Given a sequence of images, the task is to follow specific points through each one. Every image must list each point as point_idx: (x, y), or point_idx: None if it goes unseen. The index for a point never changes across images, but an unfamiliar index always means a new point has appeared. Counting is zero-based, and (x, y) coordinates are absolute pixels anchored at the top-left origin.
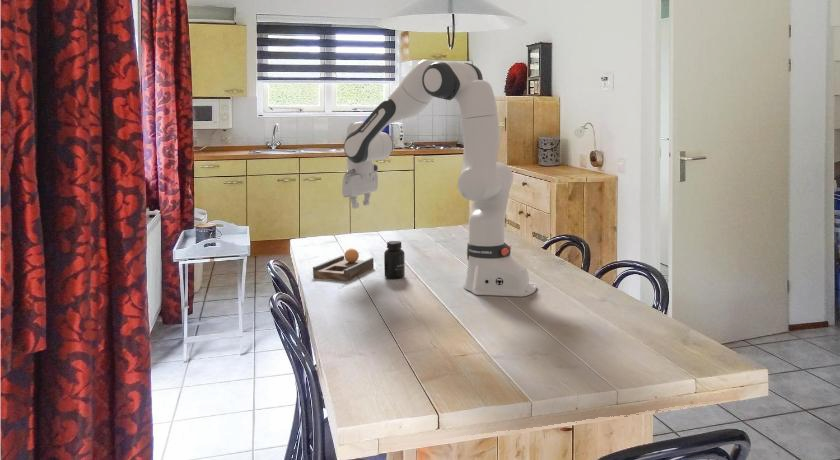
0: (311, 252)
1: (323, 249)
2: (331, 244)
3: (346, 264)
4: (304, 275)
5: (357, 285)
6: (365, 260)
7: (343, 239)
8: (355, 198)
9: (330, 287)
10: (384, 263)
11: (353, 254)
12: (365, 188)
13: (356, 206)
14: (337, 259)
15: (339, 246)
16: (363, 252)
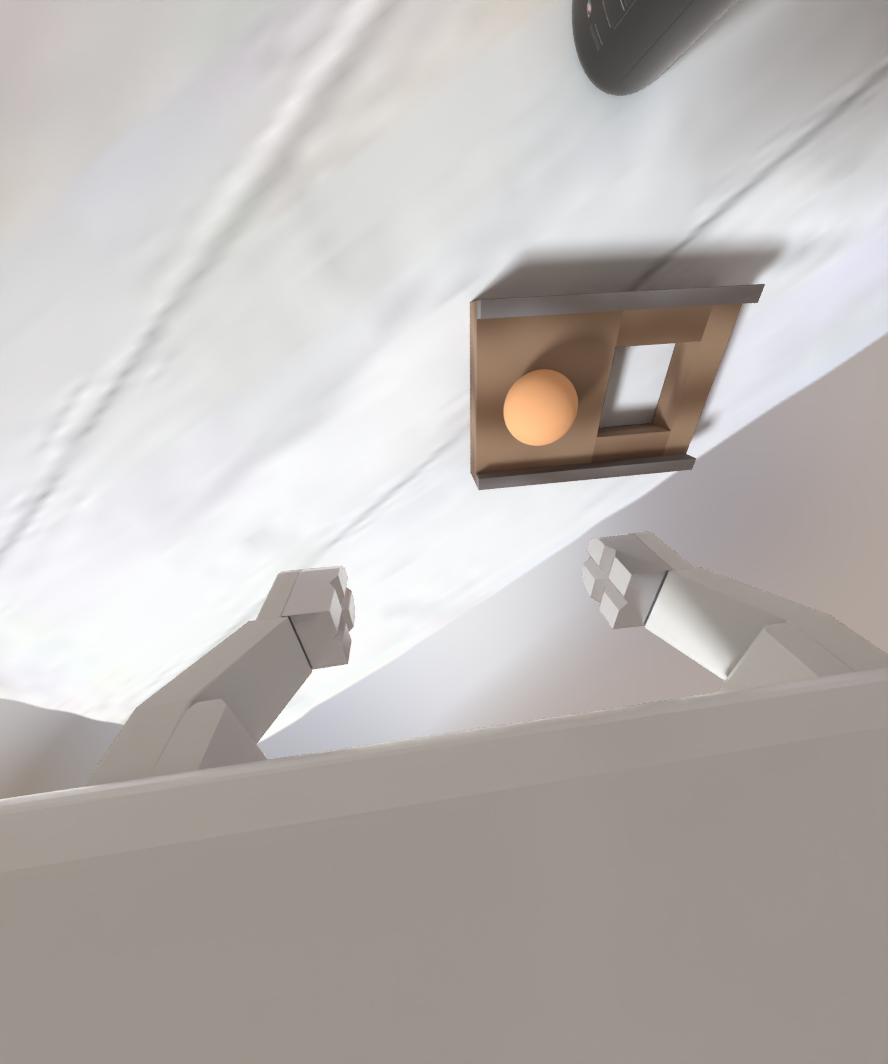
0: (353, 650)
1: None
2: None
3: None
4: (630, 500)
5: (801, 176)
6: (544, 313)
7: (135, 684)
8: (841, 627)
9: (811, 301)
10: (720, 17)
11: (570, 383)
12: (565, 981)
13: (662, 543)
14: (531, 472)
15: None
16: (237, 525)
